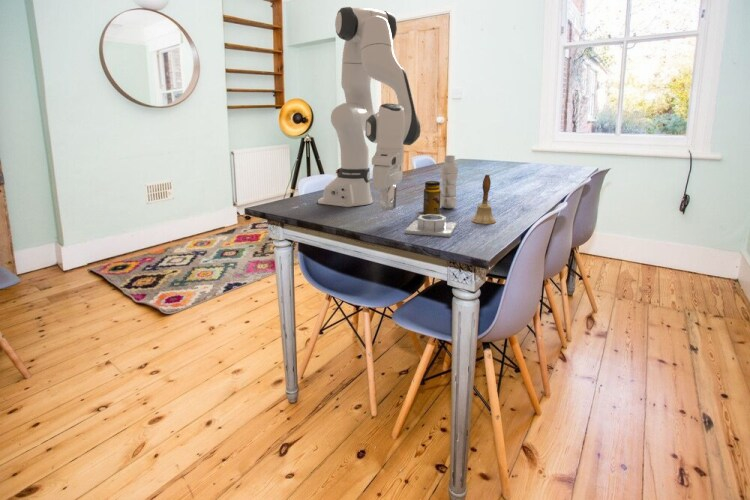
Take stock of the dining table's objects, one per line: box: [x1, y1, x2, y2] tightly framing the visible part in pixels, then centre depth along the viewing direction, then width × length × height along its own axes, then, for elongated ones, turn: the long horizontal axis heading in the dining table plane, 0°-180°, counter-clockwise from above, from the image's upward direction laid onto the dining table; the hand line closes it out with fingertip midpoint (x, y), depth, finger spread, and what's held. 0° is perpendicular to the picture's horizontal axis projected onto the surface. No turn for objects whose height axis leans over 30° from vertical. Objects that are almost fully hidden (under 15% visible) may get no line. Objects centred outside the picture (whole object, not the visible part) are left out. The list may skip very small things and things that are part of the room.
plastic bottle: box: [439, 154, 459, 210], centre depth 174 cm, size 6×7×20 cm
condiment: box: [414, 180, 444, 217], centre depth 166 cm, size 7×8×12 cm
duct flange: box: [404, 214, 458, 238], centre depth 146 cm, size 14×14×4 cm
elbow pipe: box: [379, 184, 398, 211], centre depth 151 cm, size 5×5×8 cm
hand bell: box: [470, 174, 497, 225], centre depth 155 cm, size 8×8×16 cm
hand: (387, 199), depth 151 cm, fingers closed on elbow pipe, 5 cm apart
